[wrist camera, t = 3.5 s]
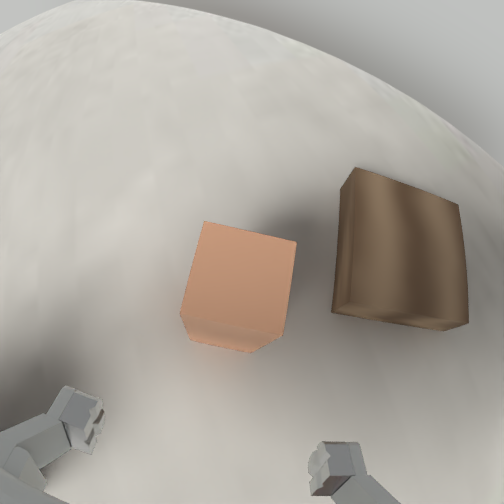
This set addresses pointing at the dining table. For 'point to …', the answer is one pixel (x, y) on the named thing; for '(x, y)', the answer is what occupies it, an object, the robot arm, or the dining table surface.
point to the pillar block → (238, 288)
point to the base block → (399, 255)
